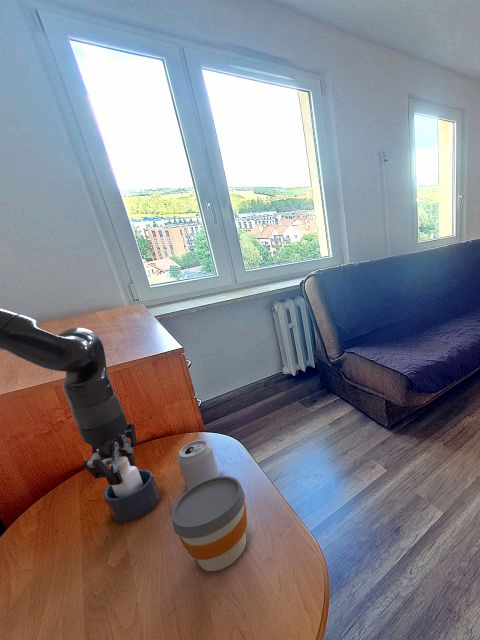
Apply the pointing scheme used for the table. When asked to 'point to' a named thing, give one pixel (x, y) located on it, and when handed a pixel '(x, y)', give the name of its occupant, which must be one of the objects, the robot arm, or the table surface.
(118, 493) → the salt shaker
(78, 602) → the table surface
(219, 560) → the reusable coffee cup
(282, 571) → the table surface
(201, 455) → the can
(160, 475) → the table surface
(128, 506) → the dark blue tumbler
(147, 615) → the table surface
